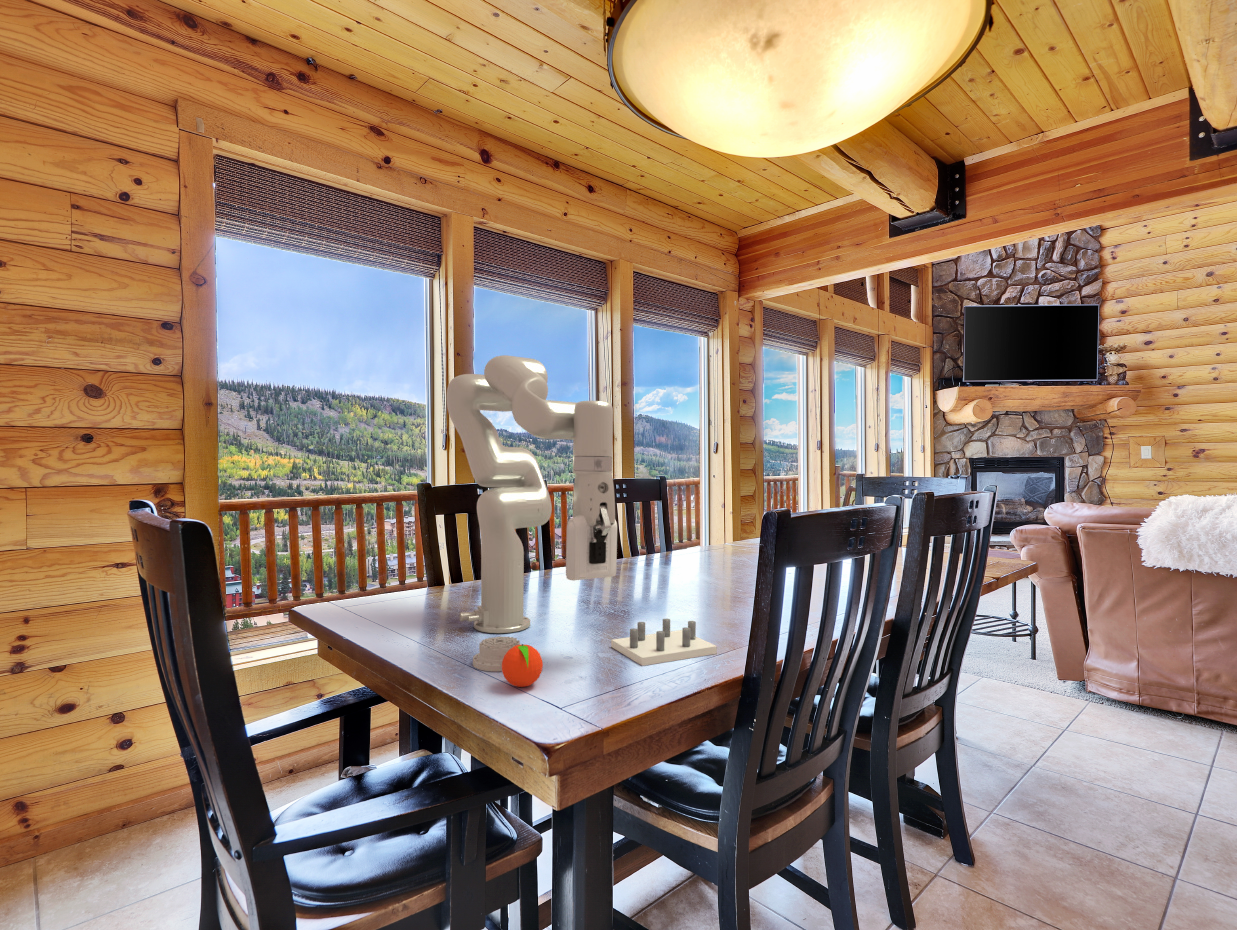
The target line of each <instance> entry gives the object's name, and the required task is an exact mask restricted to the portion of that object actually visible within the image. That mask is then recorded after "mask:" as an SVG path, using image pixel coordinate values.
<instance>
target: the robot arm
mask: <svg viewBox="0 0 1237 930" xmlns="http://www.w3.org/2000/svg"><path fill="white" fill-rule="evenodd" d="M483 372H484V373H483V374H479V373H465V374H460V375H457V376H455V377H454V378H452V379H451V380H450V381H449V383H448V385H447V389H446V407H447V412H448V415H449V417H450V420H451V422H452V424H453V426H454V427H455V430H456V431H457V434H458V435H459V437H460V439H461V442H462V447H463V449H464V453H465V456H466V458H467V463H468V465H469V468H470V471H471V474H472V477H473V479H474V481H475V483H476V484H478V485H479V486H480V487H484V488H489V489H487V490H485V491H484V492H482V493H481V495H480V496H478V499H477V502H476V514H477V520H478V525H479V531H480V555H481V556H480V558H481V559H480V562H481V563H480V564H481V565H480V566H481V569H480V570H481V571H480V576H481V577H480V578H481V579H480V583H481V584H480V605H477V607H476V609H473V610H472V611H462V612H459V615H458V616H459V622H466V621H467V622H468V623H471V622H473V628H474V629H475V630H476V631H479V632H482V633H487V634H509V633H516V632H521V631H524V630H526V629H527V628H529V627H530V626H531V619H530V618H529V617H526V616H524V590H525V588H524V585H525V584H524V580H525V579H524V575H525V574H524V571H525V569H524V567H525V566H524V565H525V564H524V563H525V561H524V558H525V557H524V555H525V551H524V546H523V543H522V540H521V539H520V537H519V535H518V534H517V532H516V530H517V529H523V528H533V527H541V526H543V525H545V524H546V523H547V522H548V521H549V520H550V518H551V516H552V509H553V508H552V506H553V505H552V501H551V497H550V493H549V490H548V486H547V485H546V481H545V479H544V476H543V473H542V470H541V468H540V464H539V463H538V460H537V458H536V456H535V455H534V454H533V453H532V452H531V451H530V450H528V449H527V448H524V447H519V446H505V445H503V444H502V441H501V439H500V437H499V433H498V431H497V429H496V427H495V426H494V425H493V422H491V421H490V419H489V418H488V417H487V416H485V415H484V414H483V413H482V412H481V411H486V412H488V411H489V412H511V413H512V416H513V419H514V422H515V423H516V424H517V425H518V426H519V427H520V428H522V429H523V430H524V431H525V432H527V433H528V434H530V435H532V436H533V437H535V438H539V439H542V440H569V441H570V440H572V441H573V444H572V445H573V446H572V447H573V448H572V449H573V450H572V451H573V452H572V454H573V456H572V473H573V474H574V482H573V483H574V485H573V496H572V497H573V500H572V516H573V517H576V516H579V515H581V516H582V515H583V516H584V517H585V519H586V522H587V525H589V526H590V530H591V541H592V542H589V563H590V564H599V563H605V562H606V542H607V535H608V532H609V531H610V529H611V526H612V525H614V523H615V520H616V502H615V499H616V498H615V487H614V486H615V485H614V480H613V451H614V449H613V446H614V445H613V441H614V440H613V439H614V438H613V437H614V436H613V435H614V431H613V430H614V428H613V427H614V425H613V424H614V408H613V406H612V404H611V403H610V402H607V401H604V400H603V401H602V400H583V401H578V402H576V401H575V402H573V401H562V400H548V399H547V398H548V395H549V394H548V393H549V387H548V386H549V385H548V380H549V376H548V371H547V369H546V367H545V365H544V364H543V363H542V362H541V361H539V360H537V359H535V358H530V357H524V356H523V357H522V356H521V357H520V356H513V355H497V356H495V357H493V358H491V359H489V361H488V362H486V364H485V366H484V369H483ZM573 517H572V518H573ZM597 522H601V525H596V524H597ZM596 529H598V531H597V533H596Z"/></svg>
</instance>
